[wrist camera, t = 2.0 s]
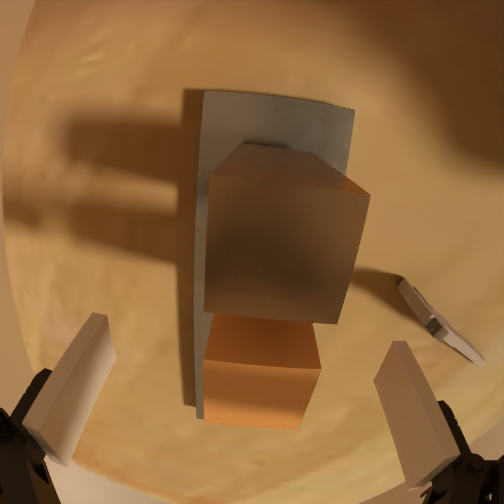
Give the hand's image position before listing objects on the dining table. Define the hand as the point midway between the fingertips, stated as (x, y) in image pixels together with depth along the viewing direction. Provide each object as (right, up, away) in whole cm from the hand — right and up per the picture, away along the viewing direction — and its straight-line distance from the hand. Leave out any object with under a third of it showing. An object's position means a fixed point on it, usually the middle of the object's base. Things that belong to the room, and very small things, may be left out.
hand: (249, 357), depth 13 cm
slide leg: (+1, +3, +7) cm, 8 cm away
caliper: (+20, -3, +12) cm, 24 cm away
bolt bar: (0, +1, +11) cm, 11 cm away
